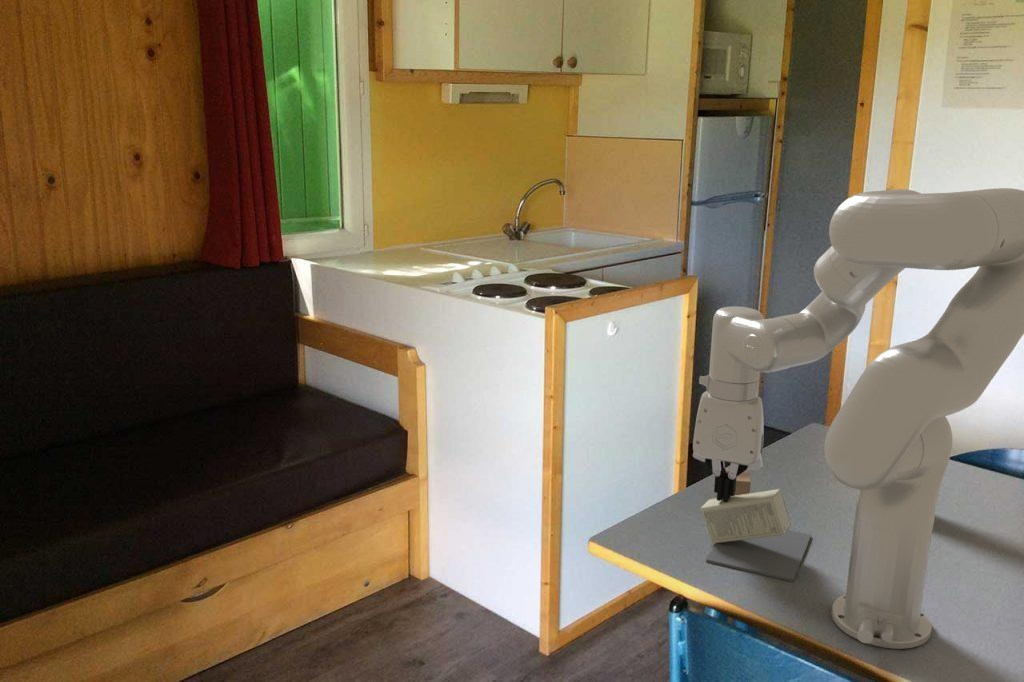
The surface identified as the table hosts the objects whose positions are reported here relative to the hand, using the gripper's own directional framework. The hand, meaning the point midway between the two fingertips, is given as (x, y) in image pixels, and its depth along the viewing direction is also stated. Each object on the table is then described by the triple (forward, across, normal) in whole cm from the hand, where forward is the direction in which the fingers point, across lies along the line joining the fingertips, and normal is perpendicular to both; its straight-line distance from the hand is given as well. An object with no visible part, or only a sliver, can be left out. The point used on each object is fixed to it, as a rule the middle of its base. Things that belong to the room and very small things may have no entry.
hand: (724, 497), depth 146 cm
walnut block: (+8, -2, +16) cm, 18 cm away
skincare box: (+4, -2, 0) cm, 5 cm away
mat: (+7, +6, 0) cm, 10 cm away
